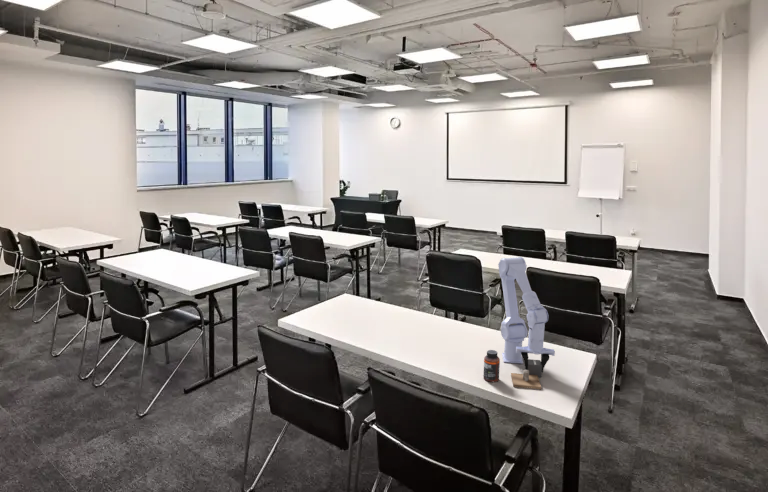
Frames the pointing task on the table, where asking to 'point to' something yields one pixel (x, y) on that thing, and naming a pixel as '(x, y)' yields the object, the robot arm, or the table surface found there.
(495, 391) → the table surface
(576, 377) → the table surface
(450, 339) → the table surface
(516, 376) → the block
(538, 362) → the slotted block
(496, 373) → the supplement bottle
